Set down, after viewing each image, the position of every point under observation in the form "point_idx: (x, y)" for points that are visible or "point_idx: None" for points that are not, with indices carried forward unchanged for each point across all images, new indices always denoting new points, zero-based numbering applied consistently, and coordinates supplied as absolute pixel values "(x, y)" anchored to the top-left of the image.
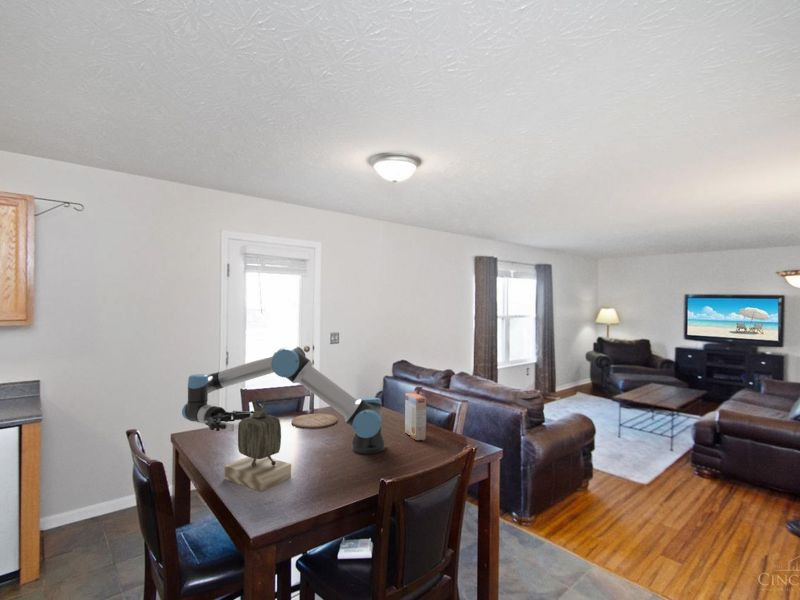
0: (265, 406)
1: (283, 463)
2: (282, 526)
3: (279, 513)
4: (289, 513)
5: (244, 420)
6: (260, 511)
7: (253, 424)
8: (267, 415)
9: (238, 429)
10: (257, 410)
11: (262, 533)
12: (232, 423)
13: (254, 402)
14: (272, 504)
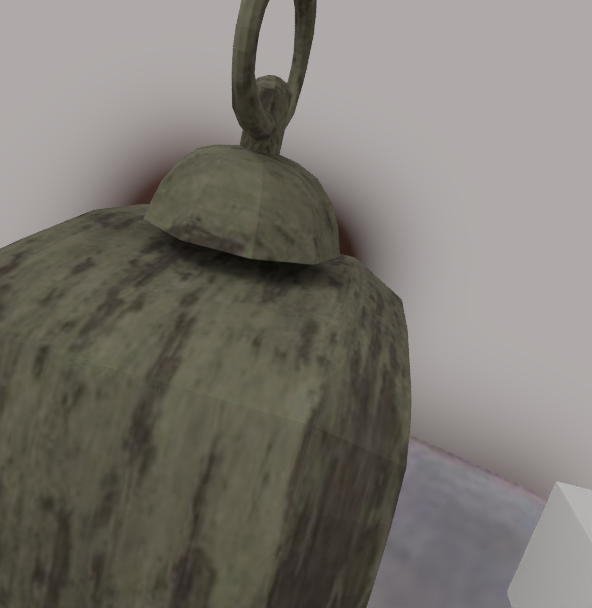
0: (299, 86)
1: None
2: (464, 460)
3: (420, 488)
4: None
5: (386, 368)
6: (458, 546)
7: (402, 307)
8: (138, 217)
9: (365, 604)
10: (281, 161)
11: (528, 489)
12: (573, 504)
13: (259, 23)
14: (390, 530)
